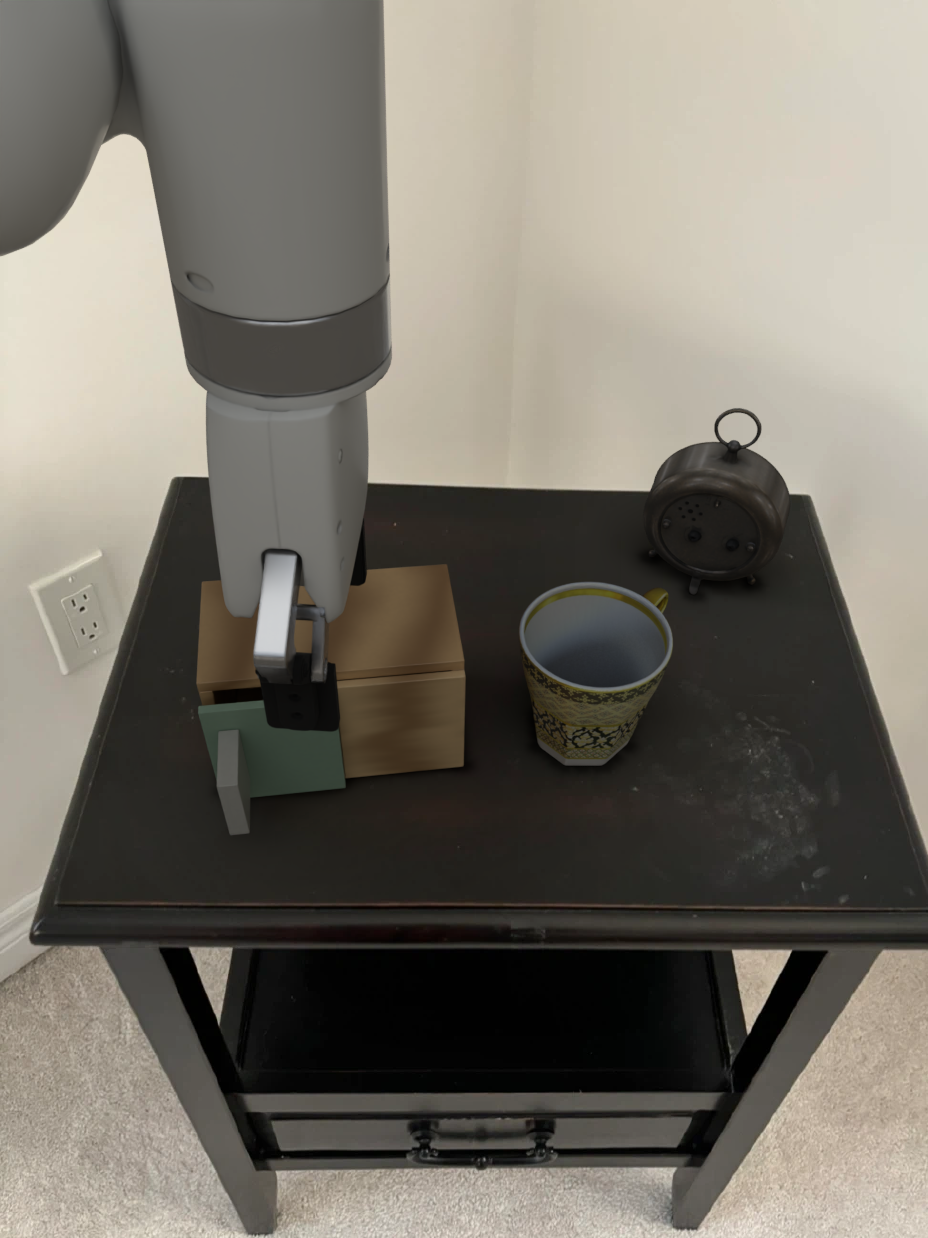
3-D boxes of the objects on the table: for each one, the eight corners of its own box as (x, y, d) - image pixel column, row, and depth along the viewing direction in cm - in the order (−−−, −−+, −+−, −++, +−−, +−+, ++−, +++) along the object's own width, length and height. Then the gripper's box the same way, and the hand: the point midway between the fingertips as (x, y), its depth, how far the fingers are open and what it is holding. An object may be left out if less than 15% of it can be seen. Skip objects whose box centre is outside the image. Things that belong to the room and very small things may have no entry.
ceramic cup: (589, 813, 69) (606, 716, 62) (482, 731, 73) (486, 631, 66) (702, 709, 76) (730, 611, 68) (598, 640, 80) (613, 540, 73)
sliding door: (220, 856, 64) (194, 770, 58) (222, 793, 67) (198, 705, 61) (349, 842, 65) (339, 756, 59) (345, 781, 69) (334, 693, 62)
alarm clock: (769, 575, 86) (822, 406, 74) (758, 617, 83) (812, 447, 71) (643, 542, 88) (674, 373, 76) (627, 582, 85) (657, 411, 73)
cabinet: (224, 798, 68) (195, 691, 60) (227, 690, 75) (201, 581, 67) (463, 773, 71) (465, 667, 63) (446, 671, 77) (447, 563, 69)
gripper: (232, 207, 43) (275, 528, 56) (112, 451, 31) (201, 787, 44) (412, 221, 43) (414, 538, 56) (360, 469, 31) (378, 798, 44)
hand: (321, 648), depth 50 cm, fingers open, 9 cm apart
